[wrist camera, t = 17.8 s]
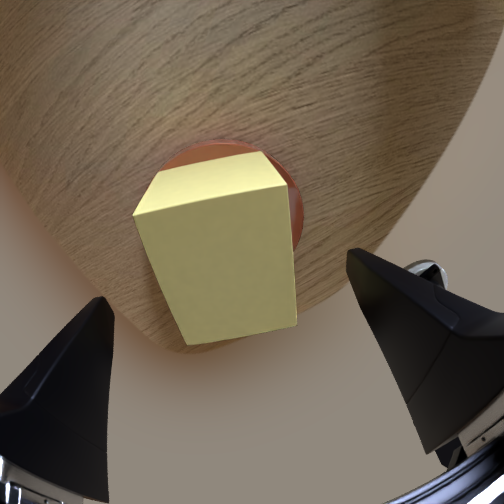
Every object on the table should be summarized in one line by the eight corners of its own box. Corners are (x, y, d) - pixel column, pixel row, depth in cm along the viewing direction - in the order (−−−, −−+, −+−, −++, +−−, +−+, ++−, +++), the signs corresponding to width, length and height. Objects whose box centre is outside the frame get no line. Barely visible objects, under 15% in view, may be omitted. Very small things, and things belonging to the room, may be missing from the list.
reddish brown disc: (324, 218, 15) (333, 228, 14) (219, 299, 17) (220, 313, 16) (226, 104, 11) (228, 105, 10) (115, 217, 13) (108, 228, 12)
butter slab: (275, 263, 15) (297, 326, 11) (190, 279, 15) (187, 346, 11) (261, 150, 12) (287, 183, 8) (157, 171, 11) (131, 215, 8)
